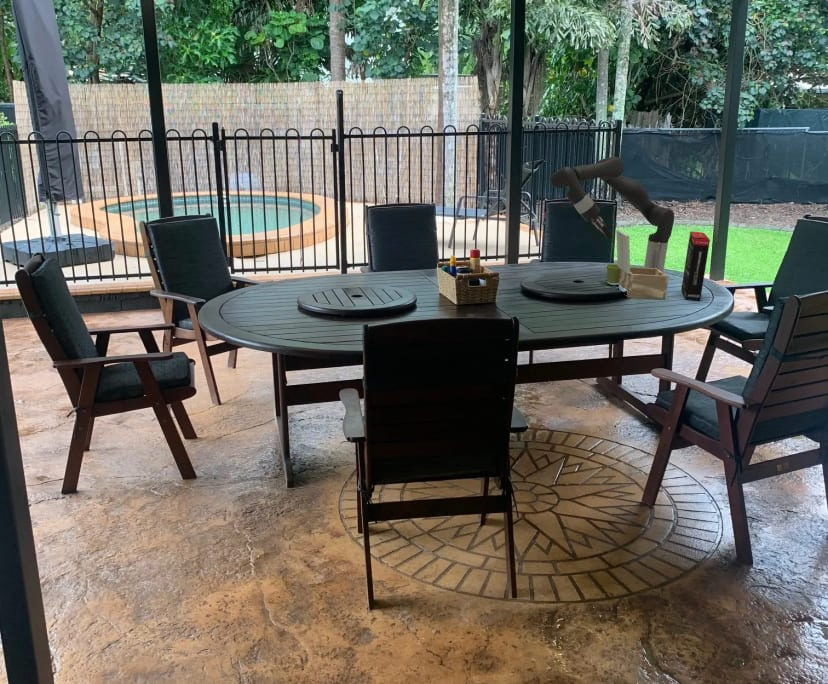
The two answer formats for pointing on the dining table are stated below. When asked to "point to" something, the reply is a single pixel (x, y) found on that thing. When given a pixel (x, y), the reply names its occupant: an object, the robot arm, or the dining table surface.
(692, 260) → the graphics card box
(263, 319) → the dining table surface
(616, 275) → the plant pot
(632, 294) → the plywood box
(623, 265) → the box lid
